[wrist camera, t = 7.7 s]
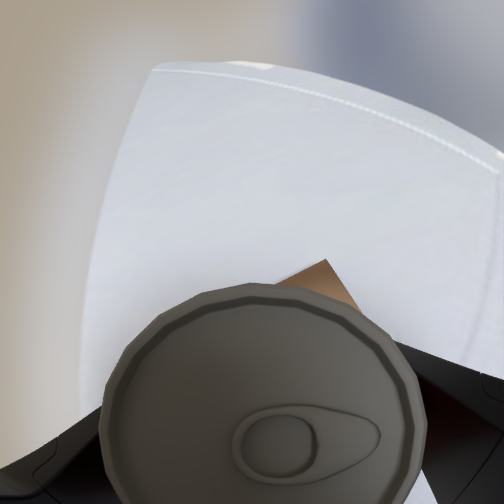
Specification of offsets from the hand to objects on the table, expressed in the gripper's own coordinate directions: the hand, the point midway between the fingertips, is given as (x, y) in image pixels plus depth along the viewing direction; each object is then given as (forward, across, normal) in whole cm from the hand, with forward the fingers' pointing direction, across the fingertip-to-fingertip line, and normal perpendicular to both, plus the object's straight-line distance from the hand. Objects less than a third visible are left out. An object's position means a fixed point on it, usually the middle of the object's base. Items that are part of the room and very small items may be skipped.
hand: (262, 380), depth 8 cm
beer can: (+5, 0, +7) cm, 8 cm away
